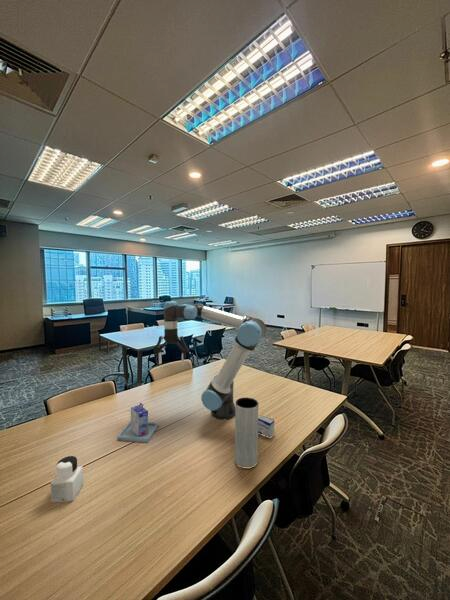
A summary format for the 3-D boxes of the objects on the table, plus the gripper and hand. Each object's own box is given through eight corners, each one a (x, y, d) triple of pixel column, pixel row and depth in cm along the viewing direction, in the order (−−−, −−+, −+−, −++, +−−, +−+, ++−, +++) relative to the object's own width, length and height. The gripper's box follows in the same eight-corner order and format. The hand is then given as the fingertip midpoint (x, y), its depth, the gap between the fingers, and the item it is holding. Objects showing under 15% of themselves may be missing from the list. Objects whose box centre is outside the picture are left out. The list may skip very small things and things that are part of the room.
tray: (158, 426, 138) (158, 422, 138) (148, 442, 124) (148, 438, 124) (130, 424, 140) (130, 421, 140) (117, 440, 126) (117, 436, 126)
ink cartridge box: (148, 433, 130) (148, 406, 129) (138, 438, 127) (138, 410, 126) (140, 425, 138) (139, 399, 137) (130, 429, 134) (129, 403, 133)
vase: (251, 473, 105) (252, 410, 103) (230, 463, 111) (231, 404, 109) (260, 459, 114) (262, 400, 112) (241, 451, 119) (242, 395, 117)
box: (256, 433, 133) (257, 418, 132) (261, 429, 136) (261, 414, 136) (270, 439, 128) (270, 423, 127) (274, 435, 131) (274, 419, 131)
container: (62, 485, 98) (61, 453, 97) (83, 484, 99) (82, 452, 98) (50, 503, 90) (49, 468, 89) (73, 501, 91) (72, 467, 90)
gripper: (193, 327, 150) (193, 362, 151) (152, 326, 151) (152, 361, 153) (190, 329, 142) (191, 366, 144) (147, 329, 144) (148, 365, 145)
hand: (171, 363), depth 148 cm, fingers open, 13 cm apart
